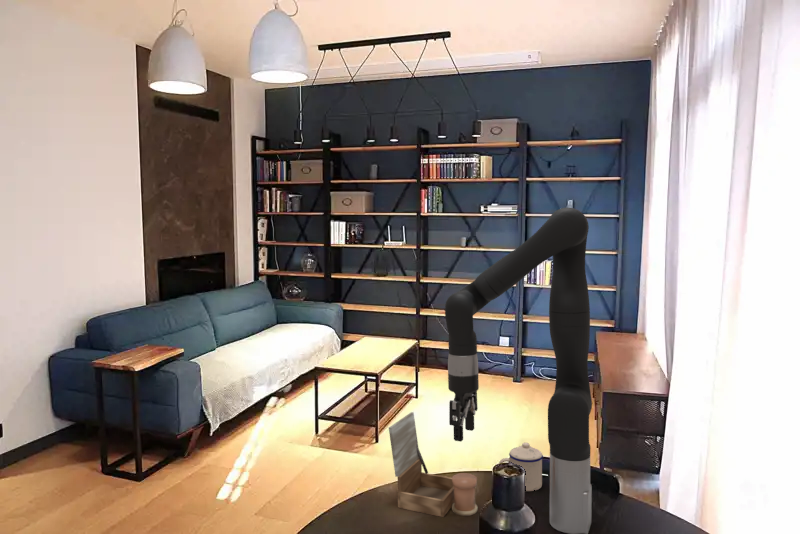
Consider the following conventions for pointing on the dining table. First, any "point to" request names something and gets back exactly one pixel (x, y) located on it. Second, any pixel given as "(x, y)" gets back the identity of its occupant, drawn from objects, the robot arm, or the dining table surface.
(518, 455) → the teacup with lid
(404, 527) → the dining table surface
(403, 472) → the cold frame
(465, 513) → the coaster
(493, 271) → the robot arm
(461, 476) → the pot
